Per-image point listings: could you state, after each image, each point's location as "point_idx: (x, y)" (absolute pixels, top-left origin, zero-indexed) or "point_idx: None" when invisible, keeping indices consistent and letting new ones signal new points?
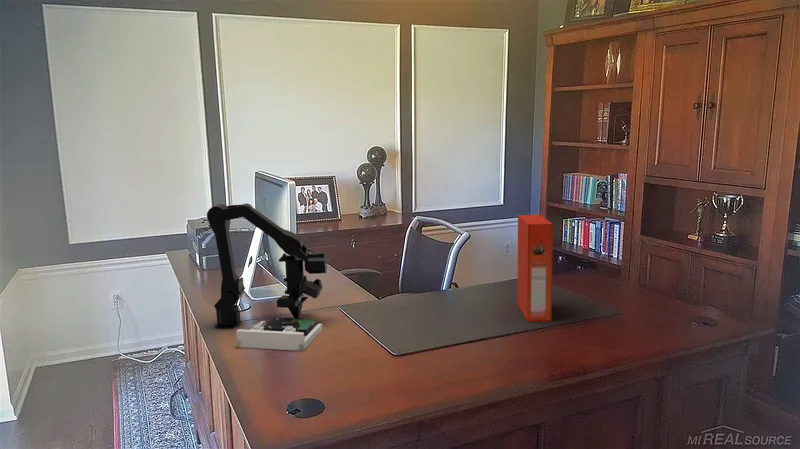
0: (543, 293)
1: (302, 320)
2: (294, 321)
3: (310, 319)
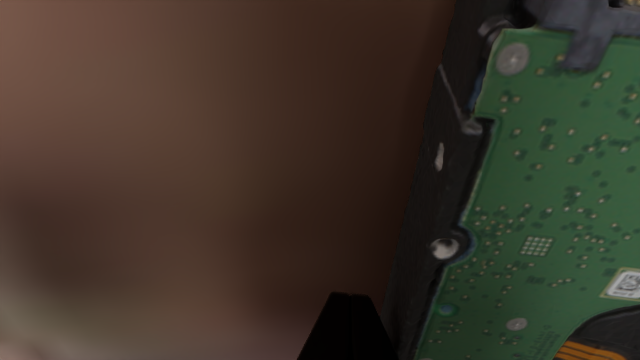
0: None
1: (551, 264)
2: (558, 350)
3: (513, 132)
